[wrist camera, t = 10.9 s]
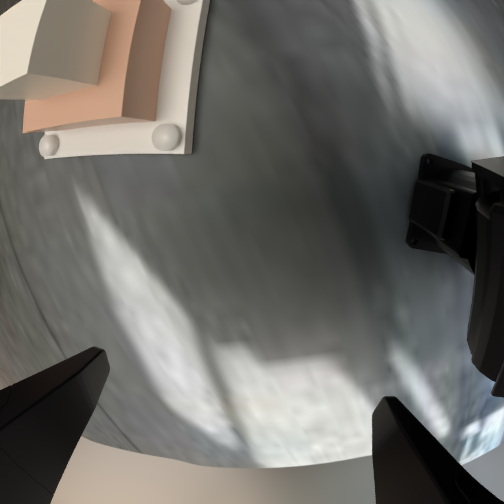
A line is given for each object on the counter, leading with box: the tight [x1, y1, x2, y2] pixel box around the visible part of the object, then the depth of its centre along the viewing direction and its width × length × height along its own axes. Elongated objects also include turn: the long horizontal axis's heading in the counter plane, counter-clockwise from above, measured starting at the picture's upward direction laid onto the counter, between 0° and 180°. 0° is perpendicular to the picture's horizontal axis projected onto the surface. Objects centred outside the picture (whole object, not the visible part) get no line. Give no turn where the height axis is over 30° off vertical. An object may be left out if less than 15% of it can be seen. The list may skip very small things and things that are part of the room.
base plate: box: [23, 0, 210, 159], centre depth 12 cm, size 12×12×6 cm
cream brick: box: [0, 0, 112, 100], centre depth 7 cm, size 4×4×5 cm
